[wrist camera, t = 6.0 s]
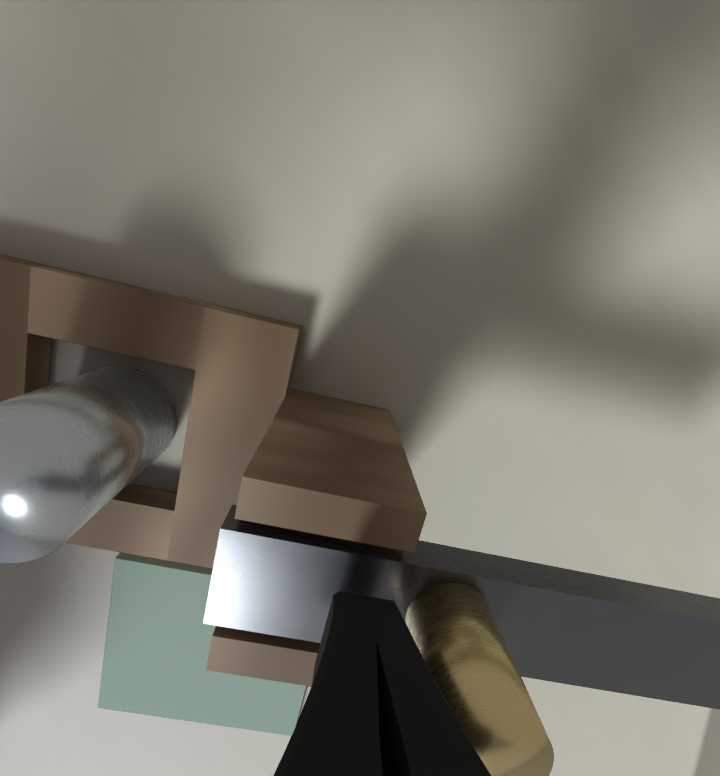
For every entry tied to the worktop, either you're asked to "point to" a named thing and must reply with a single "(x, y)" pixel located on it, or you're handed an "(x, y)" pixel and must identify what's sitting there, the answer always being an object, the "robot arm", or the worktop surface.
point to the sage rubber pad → (179, 654)
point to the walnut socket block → (220, 437)
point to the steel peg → (74, 453)
